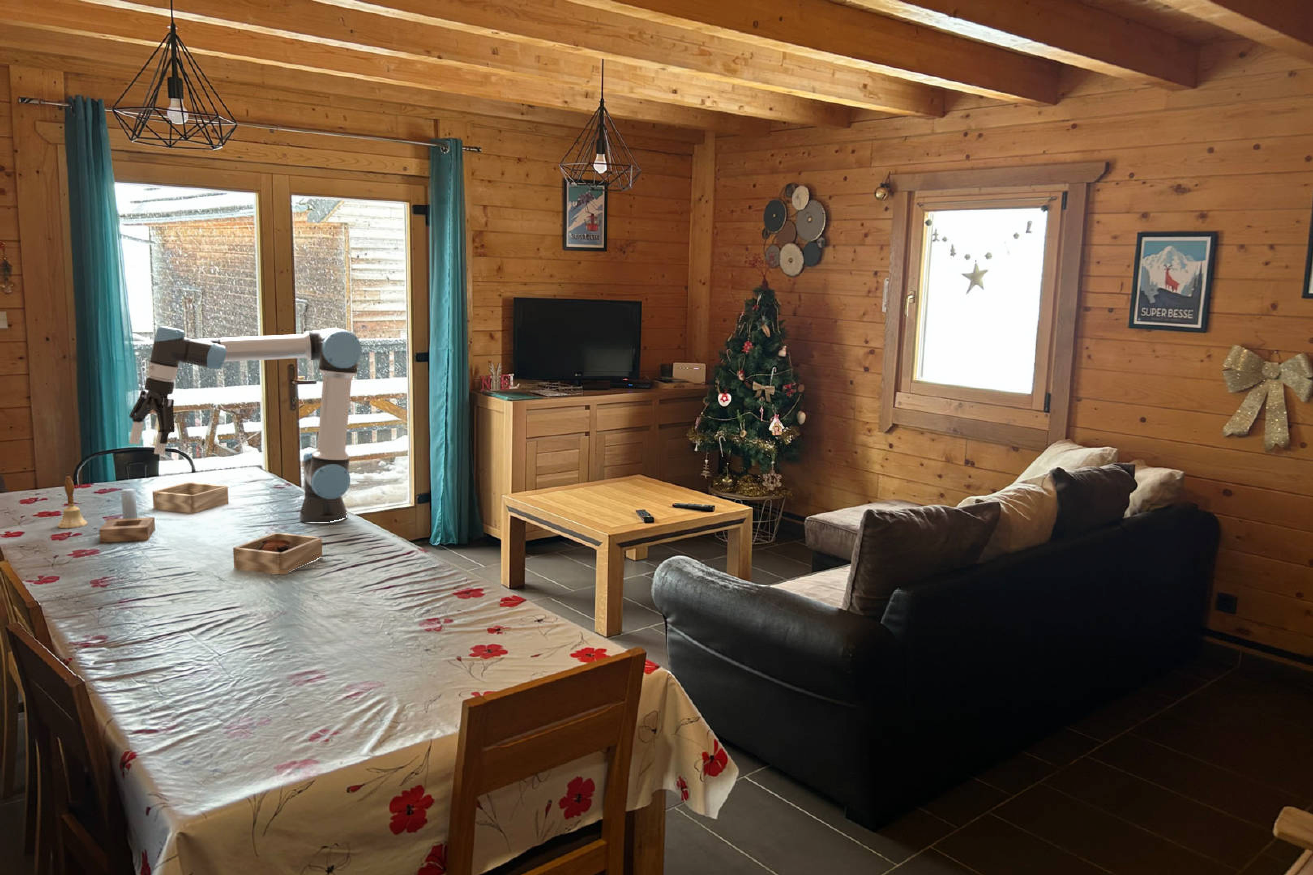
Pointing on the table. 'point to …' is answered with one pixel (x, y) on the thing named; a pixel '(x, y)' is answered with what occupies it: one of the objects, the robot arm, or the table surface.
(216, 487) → the wooden tray
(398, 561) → the table surface
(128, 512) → the peg
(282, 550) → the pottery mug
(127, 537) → the socket
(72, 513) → the hand bell
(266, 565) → the open wooden box
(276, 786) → the table surface
